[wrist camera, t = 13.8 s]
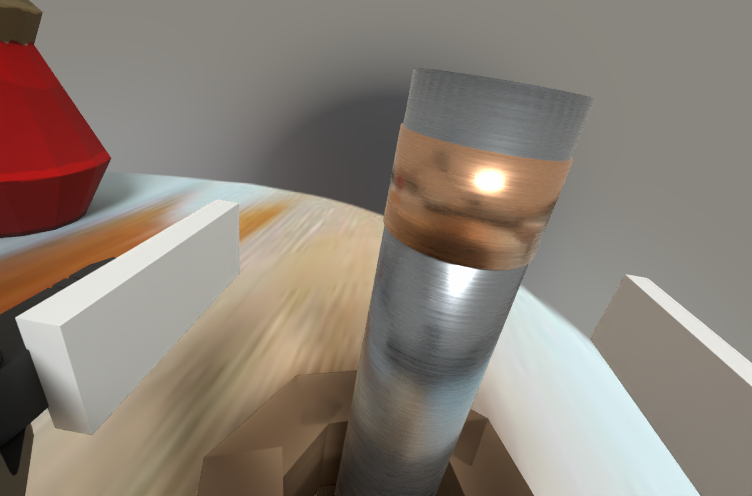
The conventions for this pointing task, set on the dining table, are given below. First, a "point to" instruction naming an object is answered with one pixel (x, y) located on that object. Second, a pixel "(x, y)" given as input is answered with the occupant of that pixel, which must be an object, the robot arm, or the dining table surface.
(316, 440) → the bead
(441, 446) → the copper-banded metal rod
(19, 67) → the bottle
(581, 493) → the dining table surface
